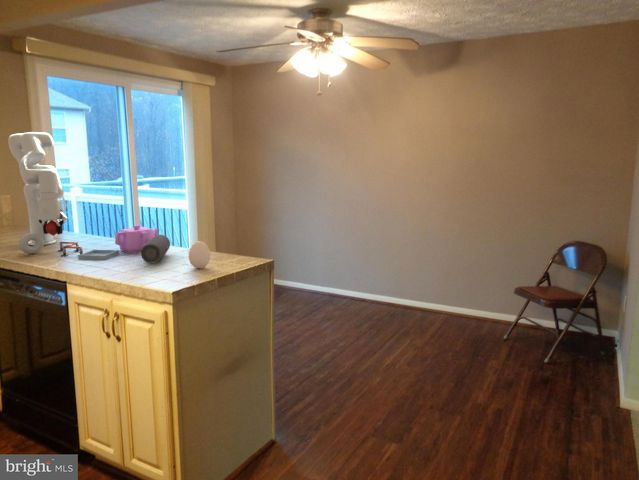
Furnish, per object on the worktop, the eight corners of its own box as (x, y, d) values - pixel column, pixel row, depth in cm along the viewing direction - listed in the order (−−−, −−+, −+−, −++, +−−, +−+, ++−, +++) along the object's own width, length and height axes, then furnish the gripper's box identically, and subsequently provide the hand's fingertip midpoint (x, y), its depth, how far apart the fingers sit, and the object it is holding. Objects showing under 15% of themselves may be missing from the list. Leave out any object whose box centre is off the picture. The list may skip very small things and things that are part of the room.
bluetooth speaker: (163, 265, 195) (161, 242, 193) (140, 266, 194) (138, 243, 192) (172, 254, 217) (171, 233, 216) (151, 254, 216) (150, 233, 214)
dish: (93, 253, 217) (93, 249, 217) (118, 254, 216) (118, 250, 216) (78, 259, 205) (78, 255, 205) (105, 259, 204) (104, 255, 204)
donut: (21, 256, 210) (19, 234, 209) (19, 255, 213) (16, 233, 211) (45, 252, 218) (43, 231, 216) (43, 251, 220) (40, 231, 218)
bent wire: (60, 250, 224) (59, 241, 223) (98, 250, 223) (97, 241, 222) (42, 256, 211) (41, 246, 210) (82, 257, 210) (81, 247, 209)
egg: (186, 270, 187) (184, 243, 185) (192, 265, 196) (191, 239, 193) (207, 271, 187) (206, 243, 185) (213, 265, 195) (212, 239, 193)
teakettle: (114, 253, 217) (112, 227, 215) (126, 246, 234) (125, 222, 232) (151, 253, 218) (149, 227, 216) (161, 246, 235) (159, 222, 233)
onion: (50, 234, 224) (48, 218, 222) (62, 234, 224) (60, 218, 223) (44, 236, 218) (42, 220, 217) (56, 236, 219) (55, 220, 217)
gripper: (26, 196, 215) (30, 234, 218) (61, 197, 213) (65, 235, 217) (37, 195, 222) (41, 232, 226) (71, 195, 221) (75, 232, 224)
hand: (53, 233), depth 221 cm, fingers closed on onion, 5 cm apart
